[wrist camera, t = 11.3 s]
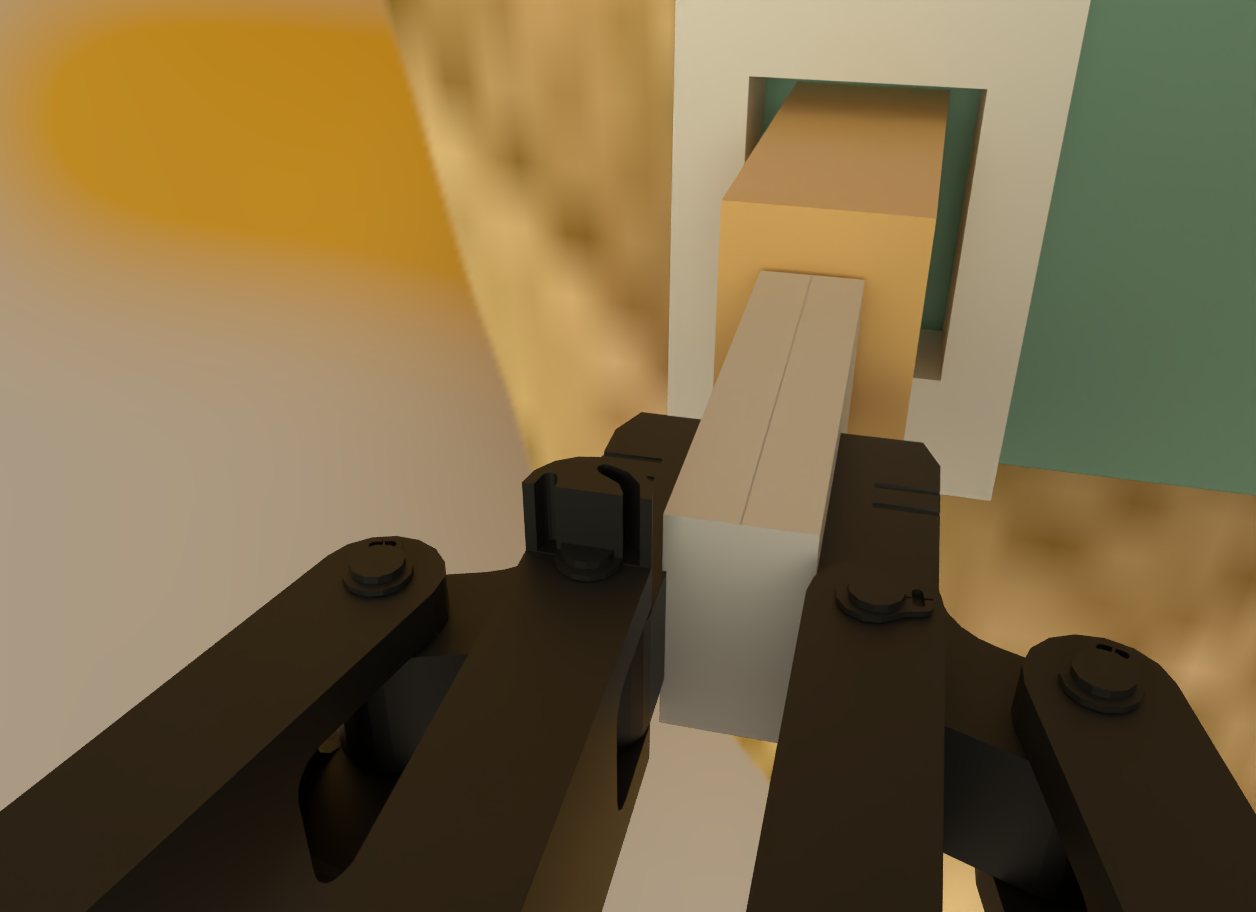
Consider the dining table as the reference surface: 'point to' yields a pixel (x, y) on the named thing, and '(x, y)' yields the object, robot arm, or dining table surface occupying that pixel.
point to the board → (1022, 219)
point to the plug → (843, 224)
